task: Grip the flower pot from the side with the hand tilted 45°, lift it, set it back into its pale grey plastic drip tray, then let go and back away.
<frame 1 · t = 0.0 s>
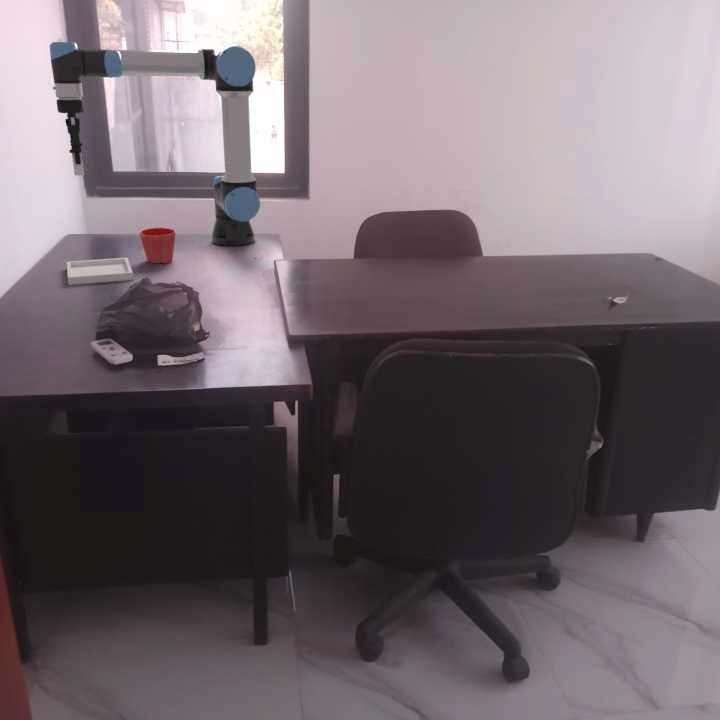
hand: (79, 171, 228), 28 cm above the table, tool pointing down, fingers open, 13 cm apart
flower pot: (160, 261, 240), on the table
drip tray: (99, 274, 225), on the table
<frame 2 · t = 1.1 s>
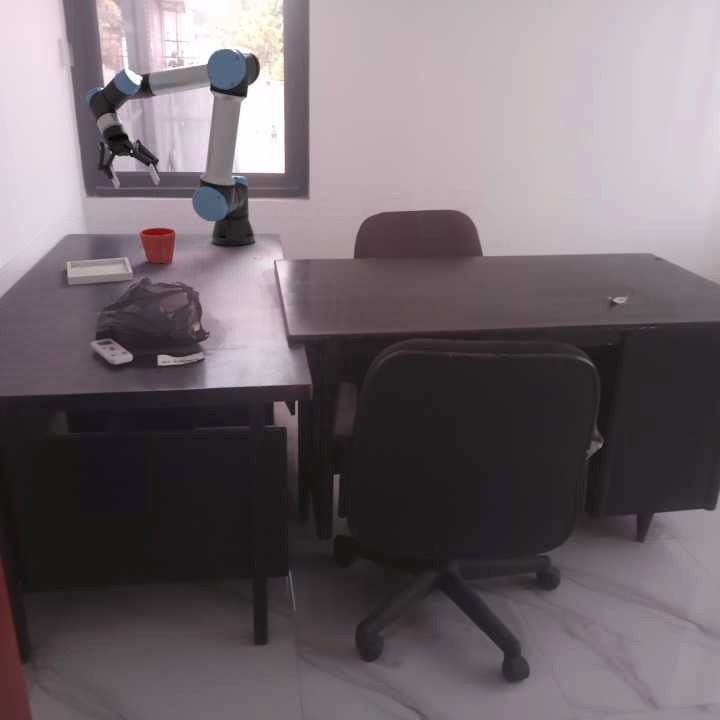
hand: (138, 184, 239), 23 cm above the table, tool tilted 45°, fingers open, 13 cm apart
nothing on the table moved.
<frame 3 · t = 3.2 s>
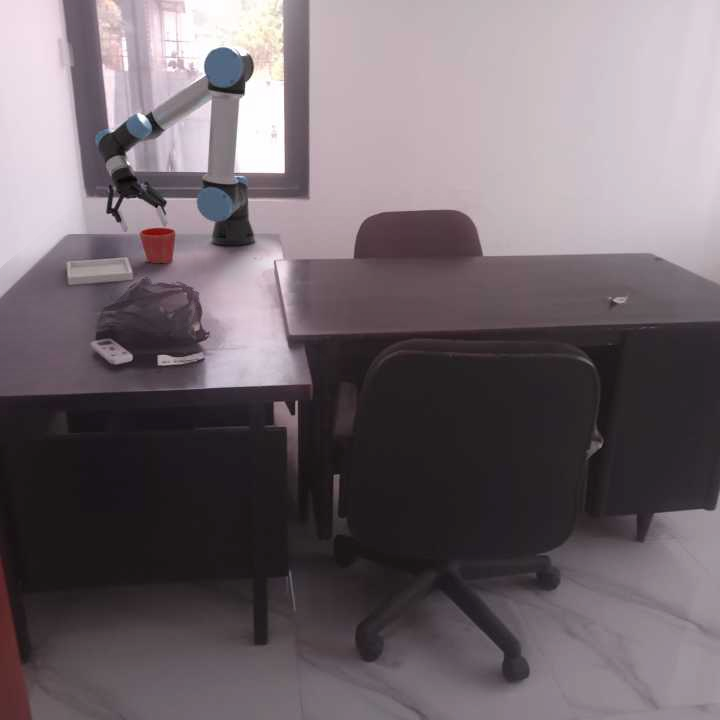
hand: (146, 227, 240), 10 cm above the table, tool tilted 45°, fingers open, 13 cm apart
nothing on the table moved.
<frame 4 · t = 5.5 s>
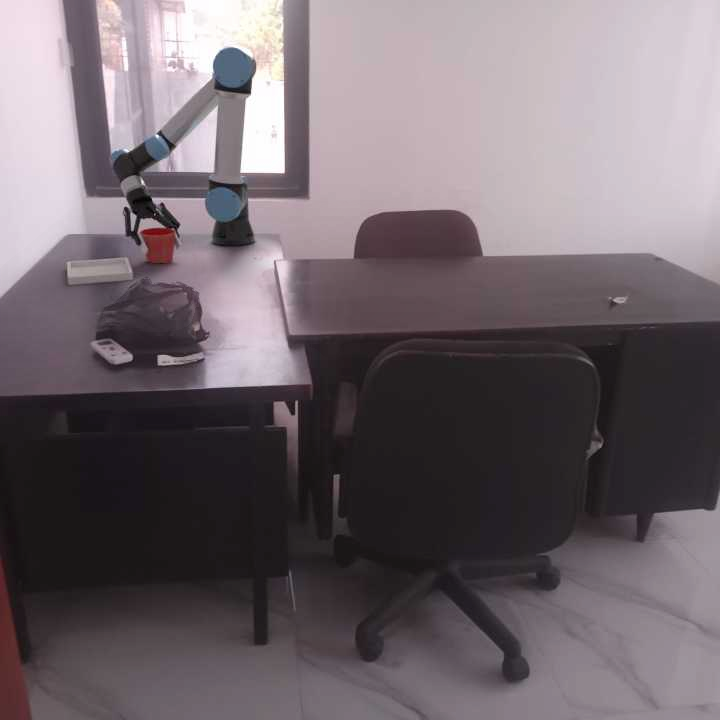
hand: (163, 250, 237), 4 cm above the table, tool tilted 45°, fingers closed on flower pot, 11 cm apart
flower pot: (160, 261, 240), on the table, touching gripper
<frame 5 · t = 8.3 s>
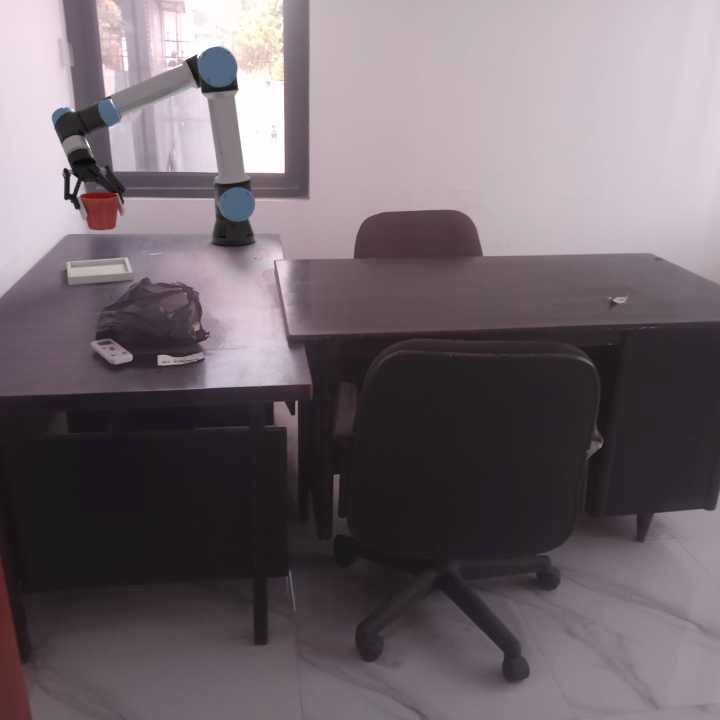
hand: (104, 215, 220), 17 cm above the table, tool tilted 45°, fingers closed on flower pot, 11 cm apart
flower pot: (102, 228, 224), point 13 cm above the table, touching gripper
when the fingers open (6 cm above the table, at t = 11.2 s): flower pot stays where it is, resting on drip tray.
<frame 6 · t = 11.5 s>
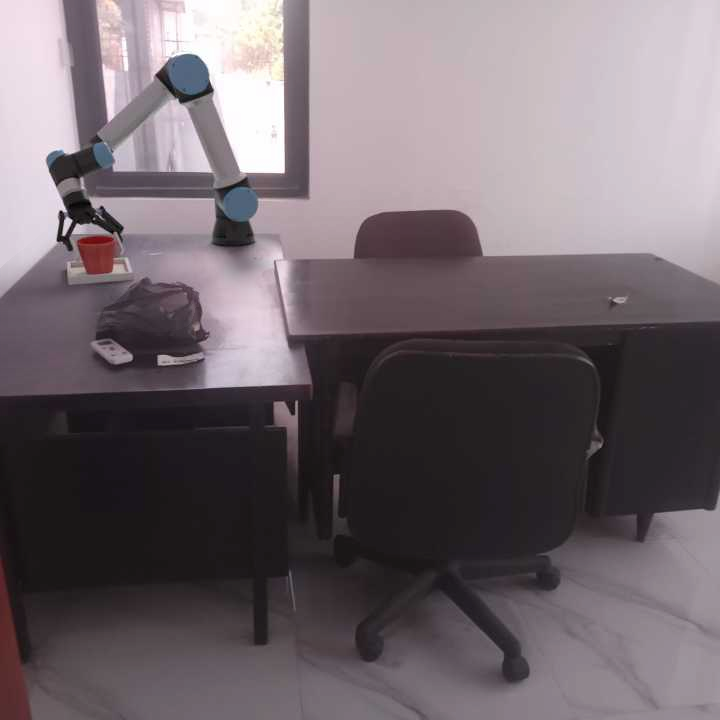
hand: (100, 255, 221), 6 cm above the table, tool tilted 45°, fingers open, 13 cm apart
flower pot: (99, 272, 225), point 1 cm above the table, touching drip tray
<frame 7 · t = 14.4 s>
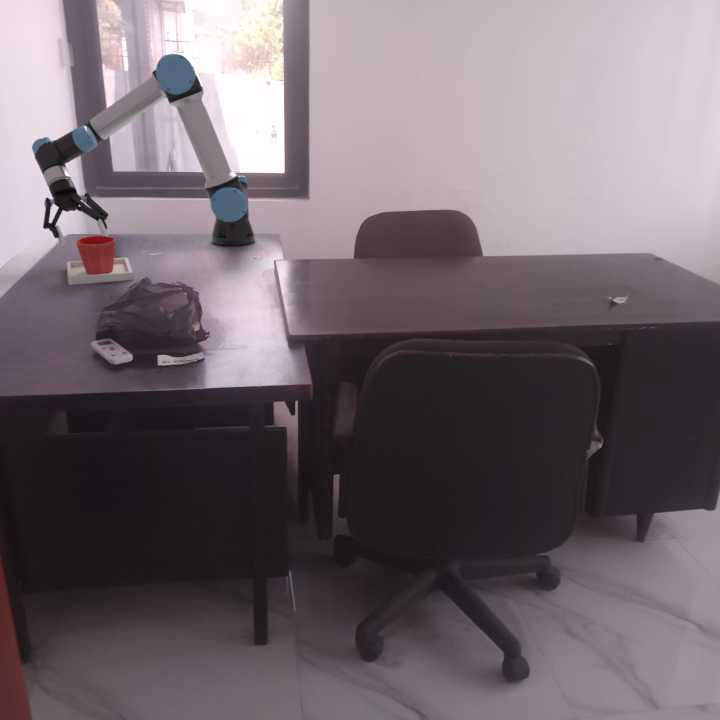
hand: (85, 242, 231), 7 cm above the table, tool tilted 40°, fingers open, 13 cm apart
nothing on the table moved.
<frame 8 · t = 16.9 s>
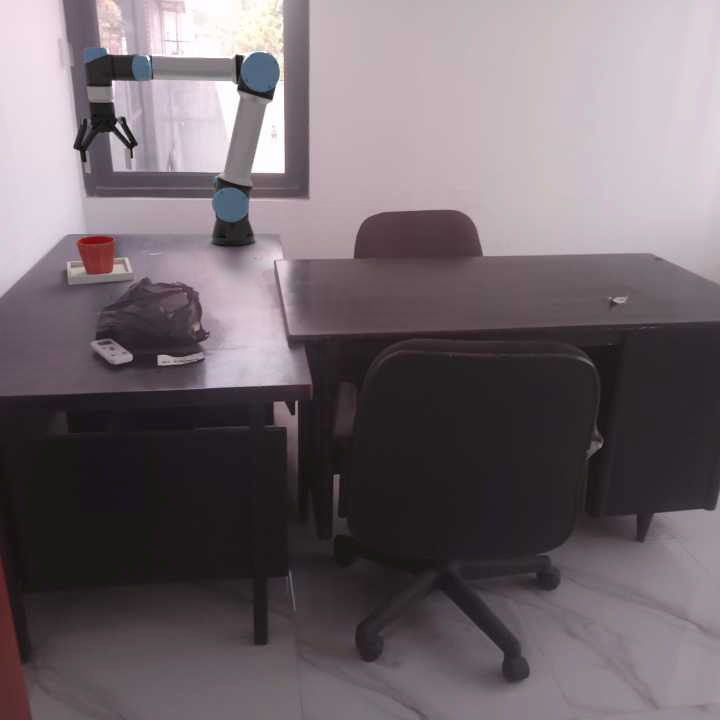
hand: (109, 171, 239), 27 cm above the table, tool pointing down, fingers open, 13 cm apart
nothing on the table moved.
at the end: flower pot inside the target area on the drip tray (0.1 cm from its centre), point 0.6 cm above the drip tray's base; flower pot tilted 0°; the gripper is holding nothing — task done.
